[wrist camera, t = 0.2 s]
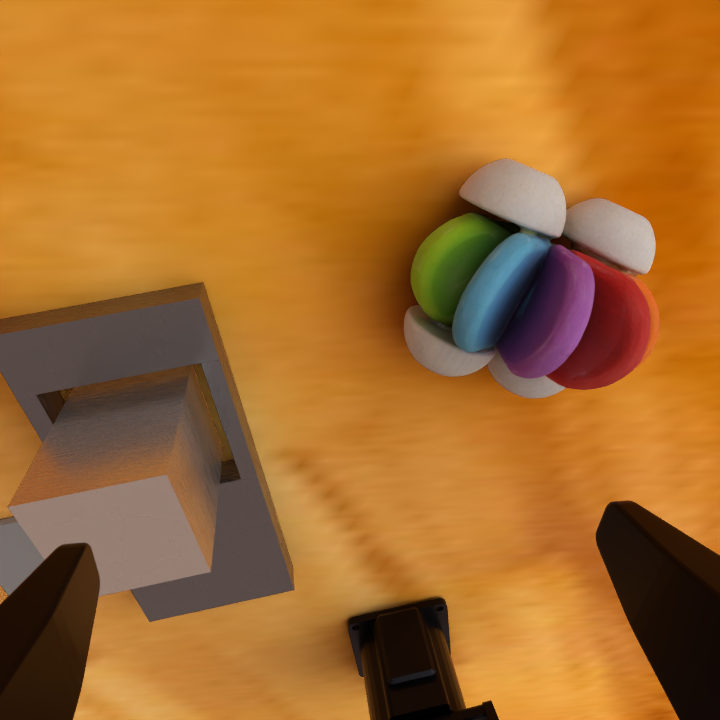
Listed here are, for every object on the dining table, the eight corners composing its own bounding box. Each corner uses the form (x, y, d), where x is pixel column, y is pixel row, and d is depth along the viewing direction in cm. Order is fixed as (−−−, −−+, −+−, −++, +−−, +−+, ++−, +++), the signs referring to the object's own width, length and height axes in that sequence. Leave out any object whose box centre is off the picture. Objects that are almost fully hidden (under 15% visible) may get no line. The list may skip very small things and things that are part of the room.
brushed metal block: (223, 448, 25) (210, 572, 20) (119, 469, 25) (74, 601, 19) (192, 362, 23) (166, 474, 17) (75, 384, 22) (7, 507, 17)
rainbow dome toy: (542, 376, 26) (627, 478, 20) (365, 323, 23) (401, 425, 17) (644, 216, 23) (786, 281, 16) (450, 129, 20) (535, 169, 13)
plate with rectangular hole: (293, 567, 30) (294, 589, 29) (154, 597, 30) (149, 621, 29) (203, 282, 21) (199, 297, 20) (-2, 319, 20) (-20, 338, 19)
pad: (133, 577, 29) (131, 584, 29) (21, 601, 29) (18, 608, 28) (89, 501, 26) (86, 507, 25) (-37, 527, 25) (-41, 533, 25)
